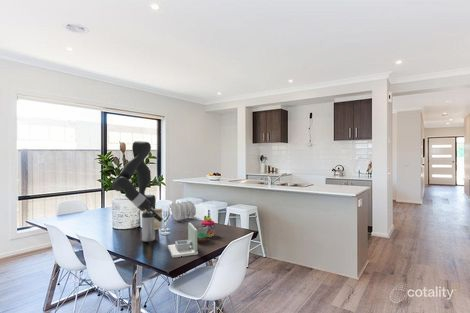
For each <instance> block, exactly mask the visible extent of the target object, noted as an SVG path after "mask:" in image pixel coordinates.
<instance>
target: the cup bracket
mask: <svg viewBox="0 0 470 313" xmlns="http://www.w3.org/2000/svg"><path fill="white" fill-rule="evenodd" d="M187 226H188V227H187V229H188V230H187V232H188V234H187V235H188V236H187V238H188V239H185V240H184V239H183V240H175V242H174V243H173V244H169V245H167V249H168V251H169V253H170V255H171V257H172V258H179V257H181V256H182V257H187V256H194V255H199V252H198V242H197V228H196V226H194V225H193V223H191V222H188V225H187ZM182 257H181V258H182Z"/></svg>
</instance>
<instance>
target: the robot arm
mask: <svg viewBox="0 0 470 313" xmlns="http://www.w3.org/2000/svg"><path fill="white" fill-rule="evenodd" d="M131 147H132V148H131V149H132V155H133V158H132V159H131V160H128V162H126V164H124V166H123V168H122V170H121V171H120V173H119V174H118V175H117V177H116V178H115V180H114V181H113V183H112V189H113V190H114V191H116V192H121V191H124V192H125V195H124V196H125V197H126V198H127V199H128V200H129V201H130V202H131V203H132V204H133V205H134V206H135V207H136V208H137V209H139V211H141V212H142V213H141V241H142V242H152V241H154V240H156V230H154V218H156V219H157V220H158V221H159V222H161V221H162V222H163V217H162V218H161V217H160V216H159V215H158V214H156V211H154V209H156V199H157V198H156V195H154V194H145V192H146V190H147V187H148V186H149V184H150V182H151V181H152V177H151V170H150V168H149V167H148V165H147V164H146V163H145V161H144V160H146V158H148V155H149V154H150V153H151V150H152V146H151V144H150V142H148V141H140V140H135V141H134V142H133V143H132V145H131ZM135 172H136V178H137V185H138V190H137V189H136V188H135V186H134V185H133V184H132V182H131V181H130V179H131V178H132V177H133V175H134V174H135ZM145 210H146V211H145ZM155 214H156V215H155ZM154 215H155V216H154Z"/></svg>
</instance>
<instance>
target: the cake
mask: <svg viewBox="0 0 470 313" xmlns="http://www.w3.org/2000/svg"><path fill="white" fill-rule="evenodd" d="M212 219H213V218H211V217H210V215H204V216H203V220H202V221H201V223H200V224H201V227H206V226H208V230H207V237H209V238H212V236H213V237H214V236H215V231H216V230H215V227H216V225H215V221H214V220H212ZM201 227H200V228H201Z"/></svg>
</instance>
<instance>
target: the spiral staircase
mask: <svg viewBox="0 0 470 313" xmlns="http://www.w3.org/2000/svg"><path fill="white" fill-rule="evenodd" d="M169 206H170V208H171V210H170V212H171V215H172V218H173V219H174V221H178V222H179V221H180V220H182V221H183V220H185V219H190V218H194V217H195V216H196V214H197V211H196V210H197V208H196V205H195V203H194V202H192V201H191V200H186V201H183V200H181V202H179V201H178V202H177V203H176V202H175V203H174V202H172V203H170V204H169V205H168V207H169Z"/></svg>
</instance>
